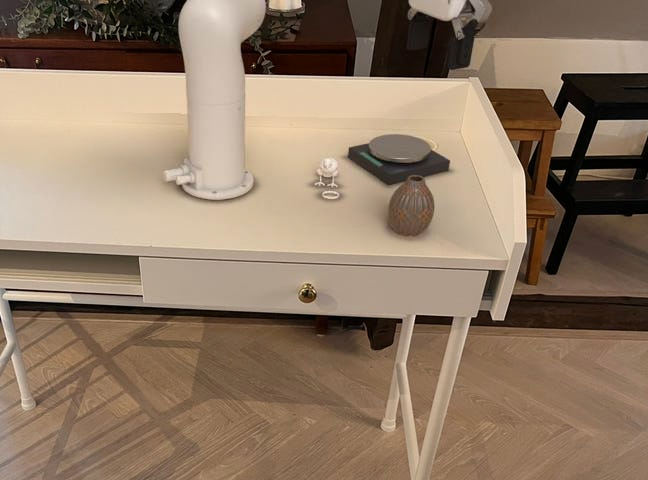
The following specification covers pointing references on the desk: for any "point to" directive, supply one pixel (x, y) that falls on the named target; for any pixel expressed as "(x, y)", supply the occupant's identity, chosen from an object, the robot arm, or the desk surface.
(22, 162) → the desk surface
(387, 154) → the scale pan
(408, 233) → the vase
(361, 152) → the scale
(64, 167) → the desk surface
